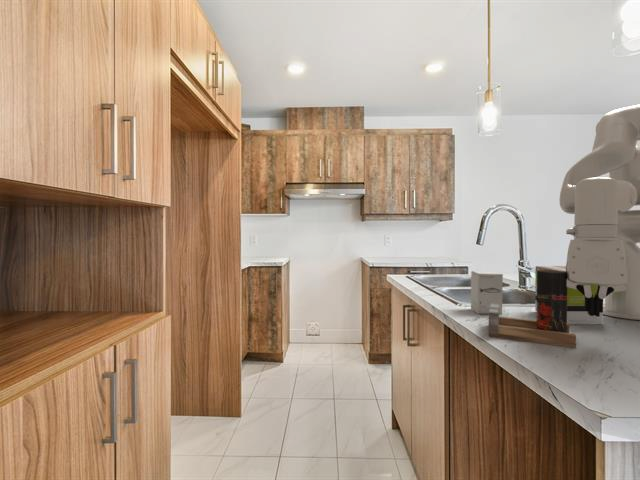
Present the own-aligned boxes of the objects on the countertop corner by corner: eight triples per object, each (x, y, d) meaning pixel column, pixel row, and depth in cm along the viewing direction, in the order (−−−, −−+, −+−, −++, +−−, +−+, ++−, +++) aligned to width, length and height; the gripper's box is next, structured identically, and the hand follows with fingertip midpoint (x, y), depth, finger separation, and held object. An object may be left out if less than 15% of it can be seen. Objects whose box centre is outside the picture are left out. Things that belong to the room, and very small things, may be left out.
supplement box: (477, 314, 103) (477, 273, 103) (470, 308, 110) (470, 270, 110) (502, 315, 102) (503, 273, 101) (494, 309, 109) (494, 271, 109)
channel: (490, 324, 91) (490, 303, 91) (567, 333, 83) (568, 310, 83) (488, 336, 81) (488, 312, 80) (576, 348, 72) (576, 321, 72)
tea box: (533, 311, 106) (534, 265, 106) (566, 312, 105) (567, 265, 105) (565, 324, 91) (566, 270, 91) (604, 325, 90) (605, 270, 90)
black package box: (572, 338, 76) (573, 273, 76) (545, 337, 77) (546, 272, 76) (556, 330, 82) (556, 270, 82) (531, 330, 83) (531, 270, 82)
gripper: (556, 233, 75) (555, 314, 75) (646, 233, 68) (644, 323, 68) (552, 233, 82) (551, 308, 82) (633, 234, 74) (632, 316, 75)
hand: (593, 315), depth 75 cm, fingers closed
